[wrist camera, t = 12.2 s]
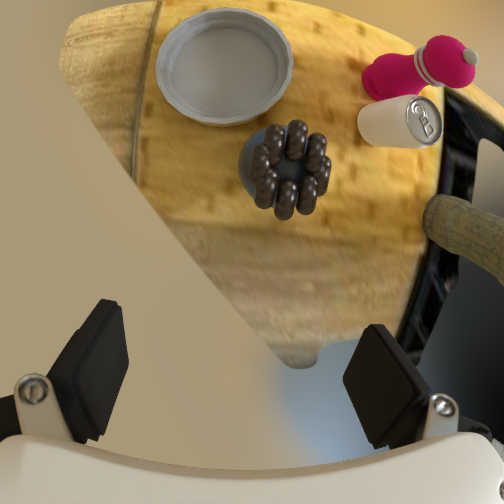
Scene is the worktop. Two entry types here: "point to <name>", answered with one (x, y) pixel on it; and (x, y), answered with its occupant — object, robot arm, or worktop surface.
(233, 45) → the bowl
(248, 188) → the ball stand
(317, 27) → the worktop surface
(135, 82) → the worktop surface
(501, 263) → the moai statue figurine
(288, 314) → the worktop surface
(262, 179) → the chocolate capsule cluster
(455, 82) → the pepper mill
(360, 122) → the can
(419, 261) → the worktop surface
